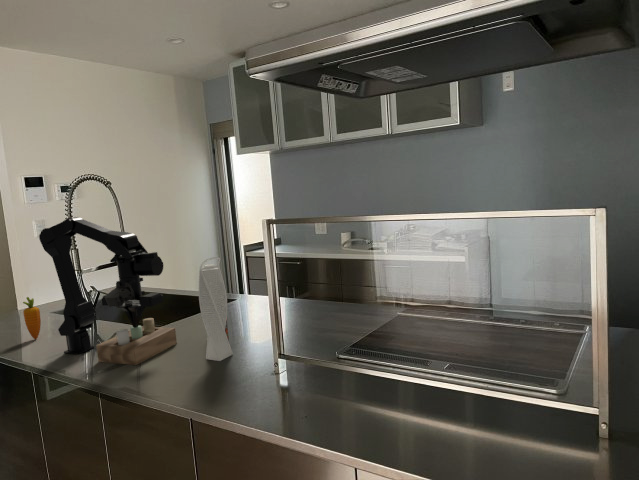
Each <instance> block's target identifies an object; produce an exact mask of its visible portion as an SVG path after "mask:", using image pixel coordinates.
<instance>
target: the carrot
mask: <svg viewBox="0 0 639 480" xmlns="http://www.w3.org/2000/svg"><path fill="white" fill-rule="evenodd" d="M26 300H27V302H26V301H22V304H25V305H26V306H28V307H27V308H24V310H23V312H22V313H23V319H24V323H25V326H26V330H27V331H28V333H29V335H30V336H31V337H32V339H34V340H37V339H38V338H39V335H40V332H41V323H42V322H41V310H40V308H39V307H37V306H34V303H35V302H34V300H35V299H34V298H32V297H31V299H30V297H28V296H27V297H26Z"/></svg>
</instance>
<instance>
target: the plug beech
mask: <svg viewBox="0 0 639 480" xmlns="http://www.w3.org/2000/svg"><path fill="white" fill-rule="evenodd" d="M142 327H144V333H152V332H154V331H155V327H156V326H155V320H154V318H153V317H147V318H143V319H142Z"/></svg>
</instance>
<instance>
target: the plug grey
mask: <svg viewBox="0 0 639 480" xmlns="http://www.w3.org/2000/svg"><path fill="white" fill-rule="evenodd" d="M128 331H129V329H128V328H121V329H118V330H116V336H117V340H118V345H126V344H128V343H130V340H129V332H128Z"/></svg>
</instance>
